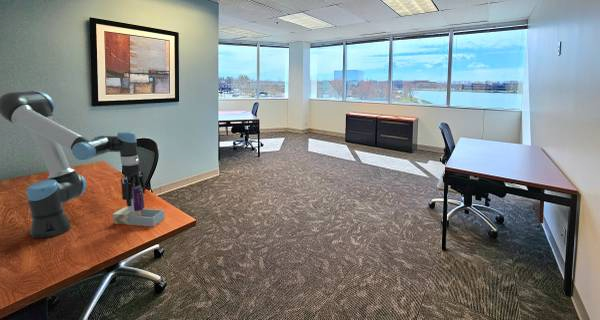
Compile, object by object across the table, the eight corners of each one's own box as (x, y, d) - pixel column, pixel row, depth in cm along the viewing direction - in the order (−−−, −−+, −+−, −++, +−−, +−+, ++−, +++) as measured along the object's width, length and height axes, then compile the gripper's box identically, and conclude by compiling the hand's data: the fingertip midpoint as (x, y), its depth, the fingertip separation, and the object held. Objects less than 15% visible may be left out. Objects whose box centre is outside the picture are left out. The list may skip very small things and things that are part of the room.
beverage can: (147, 209, 162) (144, 186, 159) (132, 213, 157) (128, 190, 154) (141, 205, 166) (138, 183, 163) (126, 209, 161) (123, 186, 158)
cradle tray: (129, 224, 159) (128, 216, 157) (141, 216, 168) (140, 208, 167) (153, 226, 156) (152, 217, 155) (164, 218, 166) (164, 210, 165)
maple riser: (114, 223, 160) (112, 213, 159) (126, 215, 169) (125, 206, 167) (128, 224, 159) (127, 214, 158) (140, 216, 167) (139, 207, 166)
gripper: (123, 169, 146) (130, 217, 151) (150, 159, 165) (155, 201, 170) (108, 169, 147) (115, 216, 152) (136, 158, 166) (142, 200, 171)
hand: (136, 208), depth 161 cm, fingers closed on beverage can, 7 cm apart
